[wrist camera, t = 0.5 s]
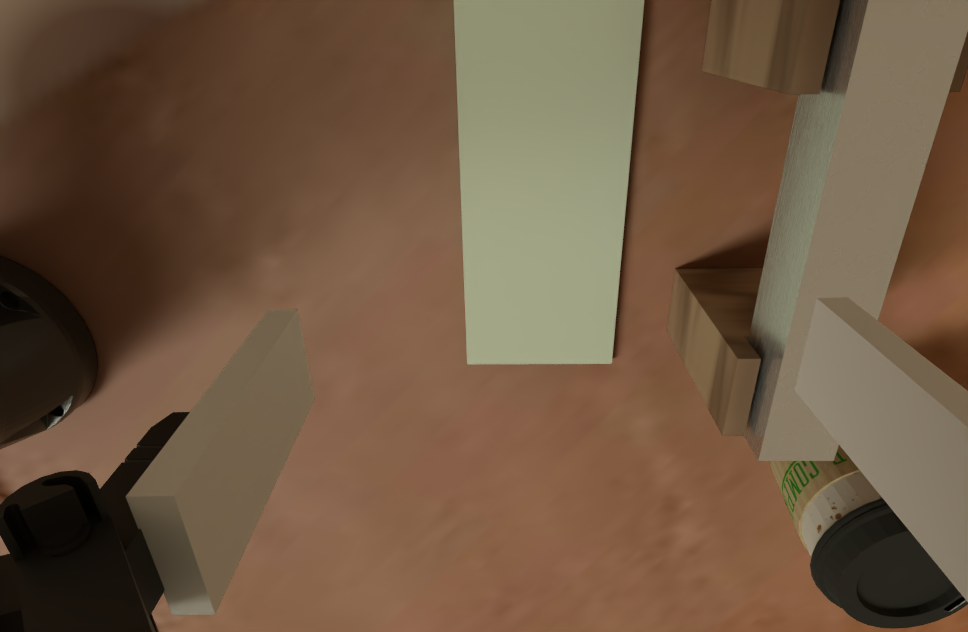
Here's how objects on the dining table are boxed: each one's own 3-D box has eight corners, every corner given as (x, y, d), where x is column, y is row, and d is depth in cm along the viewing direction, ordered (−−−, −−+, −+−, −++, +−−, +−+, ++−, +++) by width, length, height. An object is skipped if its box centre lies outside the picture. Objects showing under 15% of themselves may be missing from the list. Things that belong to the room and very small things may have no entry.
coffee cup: (798, 349, 45) (924, 491, 31) (889, 407, 47) (1044, 563, 34) (710, 437, 49) (789, 596, 35) (798, 487, 51) (904, 655, 37)
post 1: (666, 330, 44) (722, 435, 33) (675, 268, 42) (737, 358, 31) (761, 330, 44) (850, 435, 33) (775, 267, 42) (874, 358, 31)
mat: (467, 360, 46) (467, 364, 45) (451, -68, 33) (451, -69, 33) (610, 359, 46) (611, 363, 45) (648, -73, 33) (651, -75, 33)
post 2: (701, 71, 36) (790, 94, 25) (714, -23, 34) (818, -43, 23) (817, 69, 36) (960, 91, 25) (838, -26, 34) (1004, -48, 23)
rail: (800, 416, 36) (833, 460, 32) (732, 416, 36) (758, 460, 32) (926, -55, 25) (998, -67, 21) (828, -52, 25) (883, -64, 21)
